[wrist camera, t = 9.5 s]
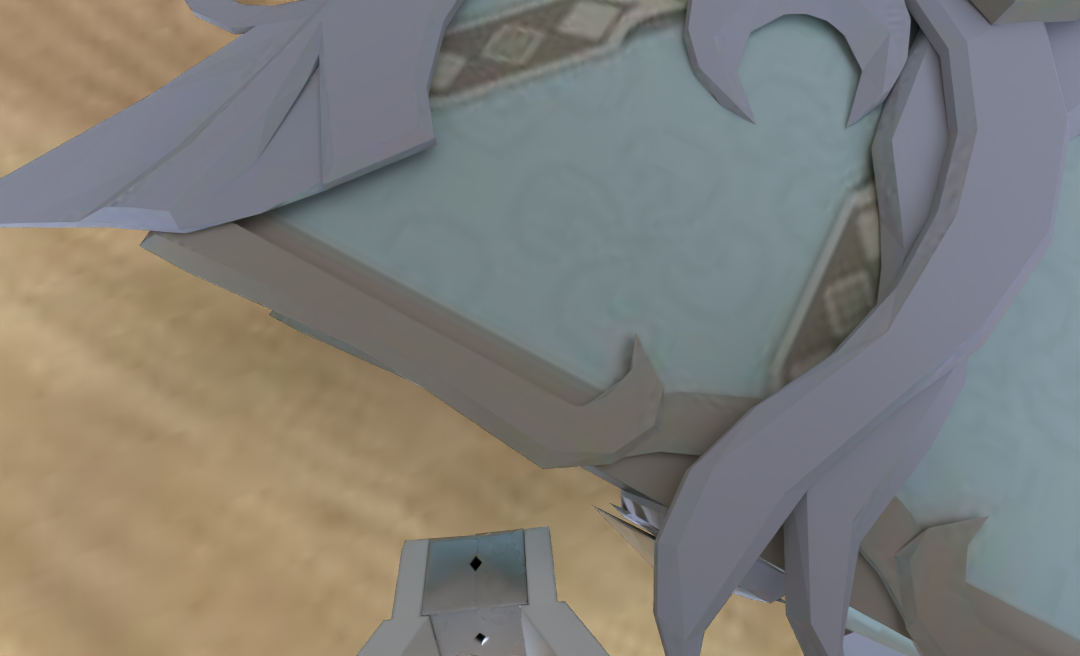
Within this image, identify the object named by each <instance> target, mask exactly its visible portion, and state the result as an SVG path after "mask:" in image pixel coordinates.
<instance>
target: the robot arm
mask: <svg viewBox="0 0 1080 656" xmlns="http://www.w3.org/2000/svg"><path fill="white" fill-rule="evenodd" d="M356 656H610V655H609V654H608V653H607V652H606V650H605V649H604V648H603V647H602V646H601V644H600V643H599V642H598V641H597V639H596V638H595V637H594V636H593V635H592V633H591V632H590V631H589V630H588V629H587V627H586V626H585V625H584V624H583V622H582V621H581V620H580V619H579V618H578V616H577V615H576V614H575V613H574V612H573V610H572V609H571V608H570V607H569V605H568V604H567V603H566V602H565V601H561V602H558V601H557V592H556V583H555V573H554V564H553V555H552V546H551V537H550V530H549V526H548V527H539V528H530V529H515V530H506V531H497V532H489V533H480V534H475V535H469V536H456V537H442V538H429V539H418V540H407V541H405V543H404V545H403V547H402V551H401V558H400V565H399V571H398V578H397V584H396V591H395V598H394V604H393V611H392V617H391V619H389V620H383V622H382V623H381V624H380V626H379V627H378V628H377V630H376V631H375V632H374V633H373V635H372V636H371V637H370V639H369V640H368V641H367V642H366V644H365V645H364V646H363V648H362V649H361V650H360V652H359V653H358V654H357V655H356Z"/></svg>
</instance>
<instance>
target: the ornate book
mask: <svg viewBox="0 0 1080 656" xmlns="http://www.w3.org/2000/svg"><path fill="white" fill-rule="evenodd" d="M185 1H186V3H187V4H188V6H189V7H190V9H191V10H192V11H193V13H194V14H195V16H196V17H198V18H200V19H202V20H204V21H207V22H209V23H211V24H213V25H215V26H218V27H220V28H222V29H224V30H227V31H229V32H231V33H233V34H243V35H241V36H240V37H238V38H237V39H235V40H233V41H232V42H230V43H229V44H227V45H226V46H224V47H223V48H221V49H220V50H218V51H217V52H215V53H213V54H212V55H210V56H209V57H207V58H206V59H204V60H203V61H201V62H200V63H198V64H197V65H195V66H193V67H192V68H190V69H189V70H187V71H186V72H184V73H183V74H181V75H180V76H178V77H177V78H175V79H174V80H172V81H170V82H169V83H167V84H166V85H164V86H163V87H161V88H160V89H158V90H157V91H155V92H154V93H152V94H150V95H149V96H147V97H145V98H144V99H142V100H140V101H138V102H136V103H135V104H133V105H131V106H129V107H128V108H126V109H124V110H122V111H120V112H119V113H117V114H115V115H113V116H112V117H110V118H108V119H106V120H104V121H103V122H101V123H99V124H97V125H95V126H94V127H92V128H90V129H88V130H87V131H85V132H83V133H81V134H79V135H78V136H76V137H74V138H72V139H71V140H69V141H67V142H65V143H63V144H62V145H60V146H58V147H56V148H55V149H53V150H51V151H49V152H47V153H46V154H44V155H42V156H40V157H38V158H37V159H35V160H33V161H31V162H30V163H28V164H26V165H24V166H22V167H21V168H19V169H17V170H15V171H14V172H12V173H10V174H8V175H6V176H5V177H3V178H1V179H0V227H110V228H123V229H135V230H148V231H150V232H149V233H148V235H147V236H146V237H145V239H144V240H143V241H142V243H141V244H140V246H141V247H142V248H144V249H146V250H148V251H150V252H151V253H153V254H155V255H157V256H159V257H161V258H162V259H164V260H166V261H168V262H170V263H171V264H173V265H175V266H177V267H179V268H181V269H182V270H184V271H186V272H188V273H190V274H192V275H194V276H197V277H199V278H201V279H203V280H206V281H208V282H210V283H212V284H215V285H217V286H219V287H221V288H224V289H226V290H228V291H230V292H233V293H235V294H237V295H239V296H242V297H244V298H246V299H249V300H251V301H253V302H255V303H258V304H260V305H262V306H264V307H267V308H269V309H271V310H272V311H271V313H270V314H269V315H270V316H272V317H274V318H276V319H278V320H279V321H281V322H283V323H285V324H287V325H289V326H290V327H292V328H294V329H296V330H298V331H300V332H301V333H304V334H306V335H308V336H310V337H313V338H315V339H317V340H320V341H322V342H324V343H326V344H329V345H331V346H333V347H336V348H338V349H340V350H342V351H345V352H347V353H349V354H351V355H354V356H356V357H358V358H360V359H363V360H365V361H367V362H369V363H371V364H374V365H376V366H378V367H380V368H383V369H385V370H387V371H389V372H392V373H394V374H396V375H398V376H400V377H402V378H404V379H406V380H408V381H410V382H412V383H414V384H416V385H418V386H420V387H422V388H424V389H425V390H427V391H428V392H430V393H431V394H433V395H434V396H436V397H437V398H439V399H440V400H442V401H443V402H445V403H446V404H448V405H449V406H451V407H452V408H453V409H455V410H456V411H458V412H459V413H461V414H462V415H464V416H465V417H467V418H468V419H470V420H471V421H473V422H474V423H476V424H477V425H479V426H480V427H482V428H483V429H484V430H486V431H487V432H489V433H490V434H492V435H493V436H495V437H496V438H498V439H499V440H501V441H502V442H504V443H505V444H507V445H508V446H510V447H511V448H512V449H514V450H515V451H517V452H518V453H520V454H521V455H523V456H524V457H526V458H527V459H529V460H530V461H532V462H533V463H535V464H536V465H538V466H539V467H540V468H542V469H550V468H564V467H577V466H580V467H582V468H584V469H585V470H587V471H589V472H591V473H593V474H595V475H596V476H598V477H600V478H602V479H604V480H606V481H607V482H609V483H611V484H613V485H615V486H617V487H618V488H620V489H622V490H621V508H620V507H618V506H616V505H613V504H611V503H610V504H611V505H613V506H614V507H615V508H616V509H617V510H618V511H619V512H620V513H621V514H622V516H623V517H625V518H627V519H629V520H630V521H632V522H634V523H636V524H637V525H639V526H641V527H643V528H644V529H646V530H648V531H649V532H650V533H652V534H653V535H654V536H653V535H651V534H649V533H647V532H645V531H643V530H641V529H639V528H637V527H635V526H633V525H631V524H629V523H627V522H625V521H623V520H621V519H619V518H617V517H615V516H613V515H611V514H609V513H607V512H605V511H603V510H601V509H599V508H597V507H595V506H593V505H592V506H593V507H594V508H595V509H596V510H597V511H598V512H599V513H600V514H601V515H602V516H603V517H604V518H605V519H606V520H607V521H608V522H609V523H610V524H611V525H612V526H613V527H614V528H615V529H616V530H617V531H618V532H619V533H620V534H621V535H622V536H623V537H624V538H625V540H626V541H627V542H628V543H629V544H630V545H631V546H632V547H633V548H634V549H635V550H636V551H637V552H638V553H639V554H640V555H641V556H642V557H643V558H644V559H645V560H646V561H647V562H648V563H649V564H650V565H651V566H652V567H653V568H654V603H653V613H654V616H655V620H656V623H657V627H658V630H659V634H660V637H661V641H662V645H663V648H664V652H665V655H666V656H700V652H701V646H702V641H703V636H704V631H705V630H706V629H707V627H708V626H709V625H710V623H711V622H712V620H713V619H714V618H715V616H716V615H717V614H718V612H719V611H720V609H721V608H722V607H723V605H724V604H725V603H726V601H727V600H728V598H729V597H730V596H731V594H732V593H734V594H737V595H740V596H743V597H746V598H749V599H753V600H758V601H762V602H766V603H772V602H774V601H779V602H782V603H786V616H787V618H788V620H789V623H790V625H791V627H792V629H793V631H794V633H795V636H796V638H797V640H798V642H799V644H800V646H801V649H802V651H803V653H804V655H805V656H1080V0H300V1H296V2H291V3H286V4H281V5H277V6H262V5H241V4H239V3H238V2H236V1H234V0H185ZM623 490H624V491H623ZM625 491H626V492H625ZM655 536H656V537H655ZM784 595H785V599H786V601H784V600H783V599H781V597H782V596H784Z"/></svg>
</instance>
